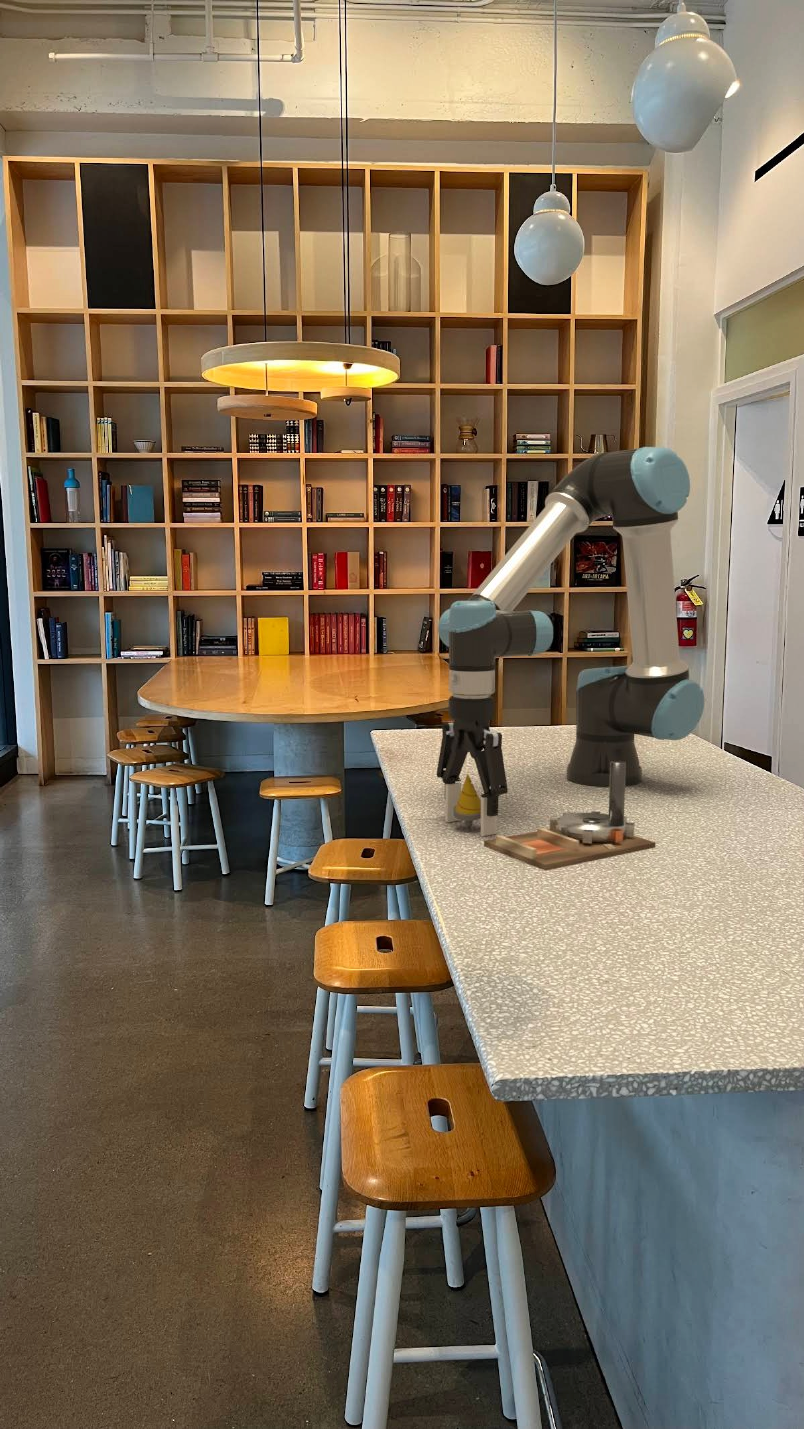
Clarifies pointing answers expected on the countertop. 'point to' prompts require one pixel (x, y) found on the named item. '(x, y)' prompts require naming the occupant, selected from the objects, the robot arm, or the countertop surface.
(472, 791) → the drill bit
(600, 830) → the sprocket
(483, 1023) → the countertop surface
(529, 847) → the brown wooden board
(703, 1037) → the countertop surface
